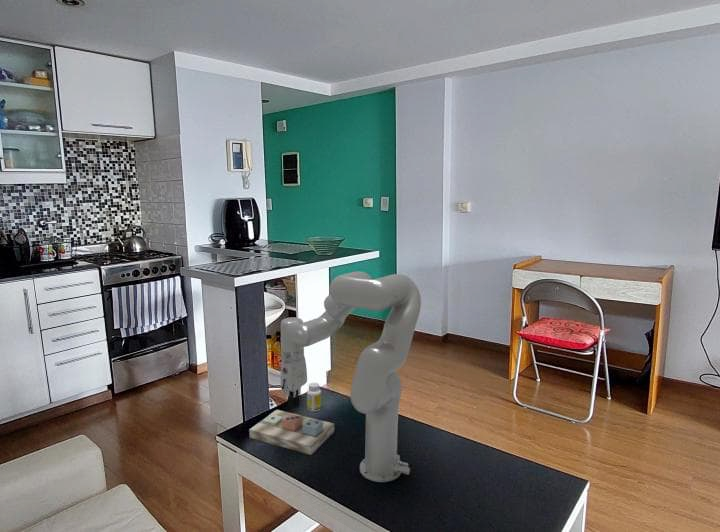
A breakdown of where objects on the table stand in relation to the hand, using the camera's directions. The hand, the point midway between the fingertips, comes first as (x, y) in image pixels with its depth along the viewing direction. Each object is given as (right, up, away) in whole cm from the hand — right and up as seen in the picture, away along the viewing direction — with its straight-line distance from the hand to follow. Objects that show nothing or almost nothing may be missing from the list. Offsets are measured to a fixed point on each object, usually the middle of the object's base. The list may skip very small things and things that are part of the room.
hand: (294, 406), depth 156 cm
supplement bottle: (+5, -8, +21) cm, 23 cm away
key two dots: (+7, -8, -2) cm, 10 cm away
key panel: (-1, -10, +2) cm, 11 cm away
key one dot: (-8, -9, +5) cm, 13 cm away
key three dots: (-1, -7, +2) cm, 8 cm away
